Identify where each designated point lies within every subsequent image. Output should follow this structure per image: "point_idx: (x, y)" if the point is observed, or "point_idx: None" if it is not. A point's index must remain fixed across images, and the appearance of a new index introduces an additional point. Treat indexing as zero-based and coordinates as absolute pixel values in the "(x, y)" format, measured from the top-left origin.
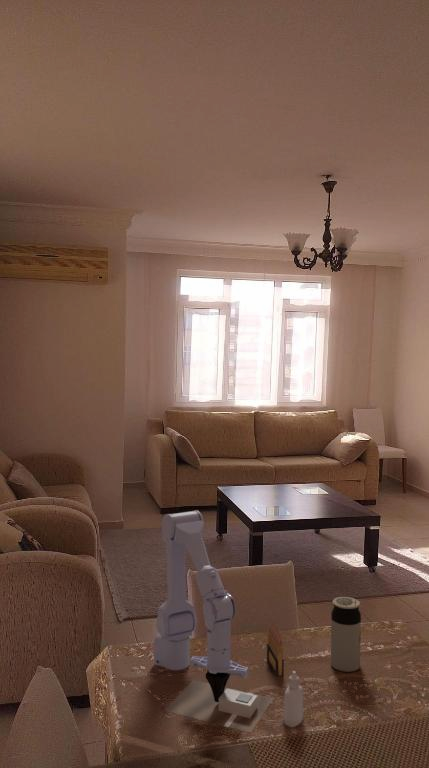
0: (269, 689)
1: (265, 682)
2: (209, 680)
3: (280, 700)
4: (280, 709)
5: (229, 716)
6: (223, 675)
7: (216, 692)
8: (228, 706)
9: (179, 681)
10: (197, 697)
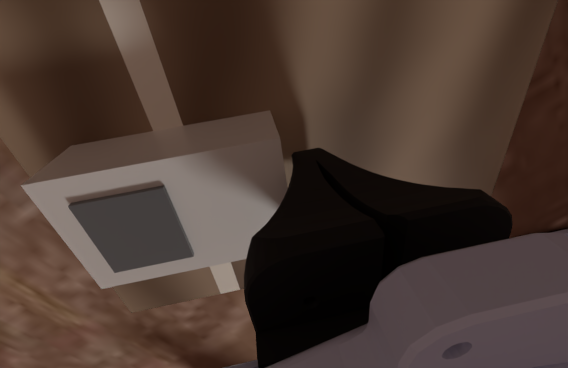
0: (207, 333)
1: (243, 347)
2: (421, 193)
3: (126, 316)
4: (75, 283)
5: (179, 93)
6: (293, 313)
7: (319, 169)
8: (204, 134)
9: (519, 211)
10: (423, 149)
